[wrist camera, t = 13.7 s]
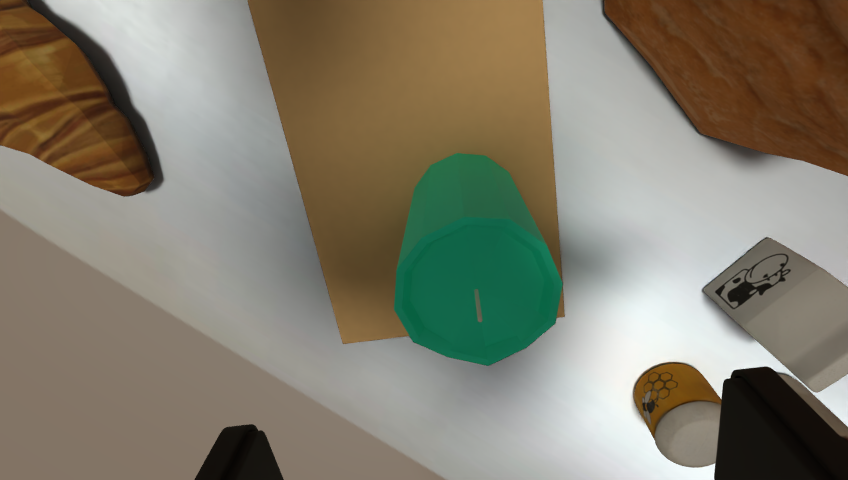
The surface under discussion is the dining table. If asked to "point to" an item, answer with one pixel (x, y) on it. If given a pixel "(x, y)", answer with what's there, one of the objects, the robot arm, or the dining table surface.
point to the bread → (752, 69)
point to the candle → (474, 264)
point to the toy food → (774, 329)
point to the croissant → (63, 106)
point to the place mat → (402, 124)
